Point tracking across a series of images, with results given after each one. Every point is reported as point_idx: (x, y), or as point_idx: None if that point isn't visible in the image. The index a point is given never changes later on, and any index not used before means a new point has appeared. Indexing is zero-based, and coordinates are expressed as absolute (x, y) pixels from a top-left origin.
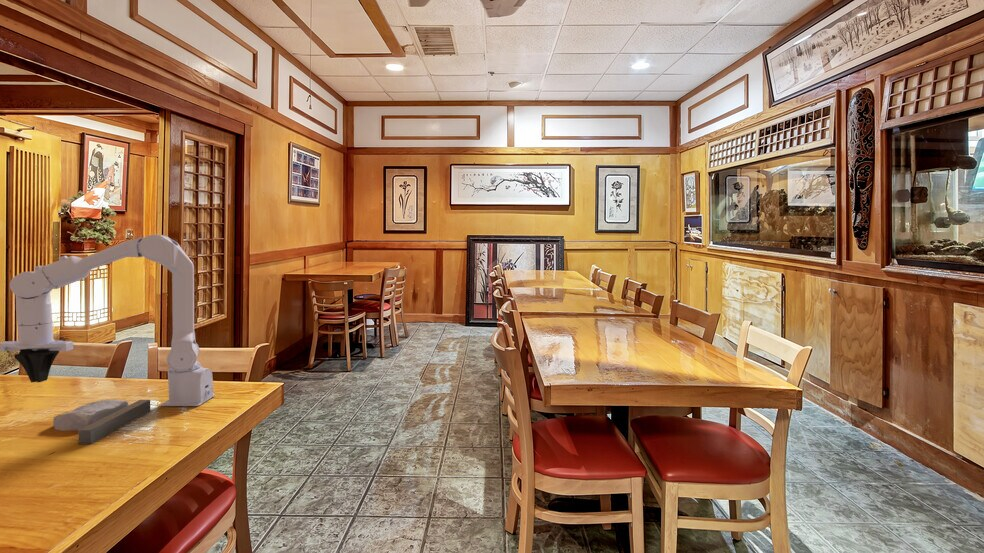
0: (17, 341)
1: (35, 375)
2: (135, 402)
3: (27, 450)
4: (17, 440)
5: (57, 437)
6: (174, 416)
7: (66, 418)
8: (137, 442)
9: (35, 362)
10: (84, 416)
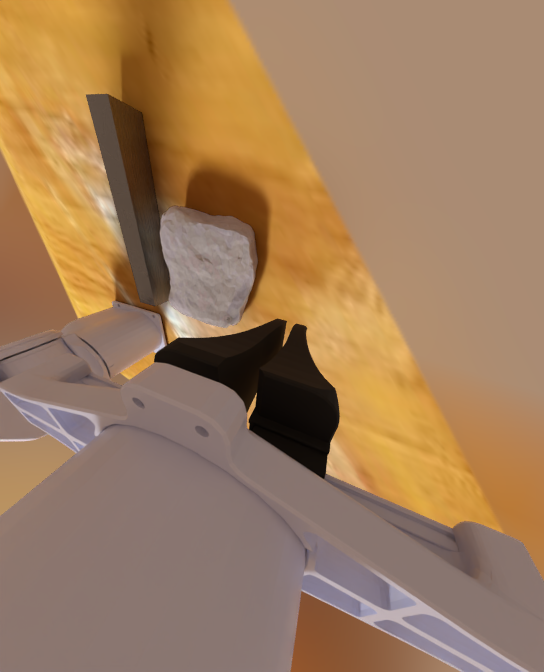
0: (395, 629)
1: (274, 325)
2: (150, 291)
3: (216, 64)
4: (286, 153)
5: (212, 168)
6: (112, 261)
7: (213, 223)
8: (61, 121)
9: (231, 342)
10: (168, 209)
